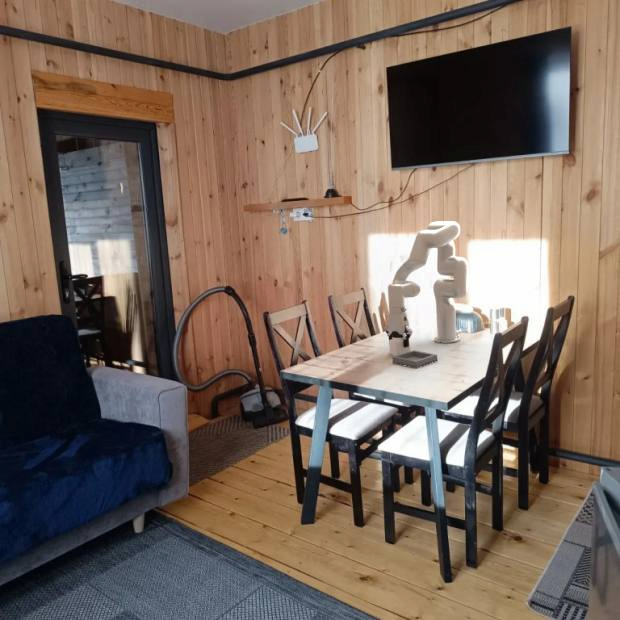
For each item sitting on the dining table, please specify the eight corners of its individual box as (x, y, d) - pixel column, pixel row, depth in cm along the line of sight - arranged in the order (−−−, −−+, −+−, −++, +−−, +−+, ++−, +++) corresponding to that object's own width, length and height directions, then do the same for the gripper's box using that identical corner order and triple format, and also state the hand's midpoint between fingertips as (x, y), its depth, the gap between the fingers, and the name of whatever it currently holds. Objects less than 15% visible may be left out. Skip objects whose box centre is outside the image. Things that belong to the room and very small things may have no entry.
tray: (413, 356, 272) (413, 350, 271) (437, 361, 261) (437, 354, 260) (392, 363, 263) (392, 356, 263) (416, 368, 252) (416, 361, 252)
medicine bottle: (410, 354, 275) (408, 330, 273) (396, 357, 273) (394, 332, 271) (403, 351, 282) (401, 327, 279) (389, 354, 279) (388, 329, 277)
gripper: (416, 310, 269) (418, 346, 272) (389, 307, 282) (391, 341, 285) (405, 312, 264) (407, 349, 267) (378, 309, 278) (380, 344, 281)
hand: (399, 345), depth 276 cm, fingers closed on medicine bottle, 9 cm apart
